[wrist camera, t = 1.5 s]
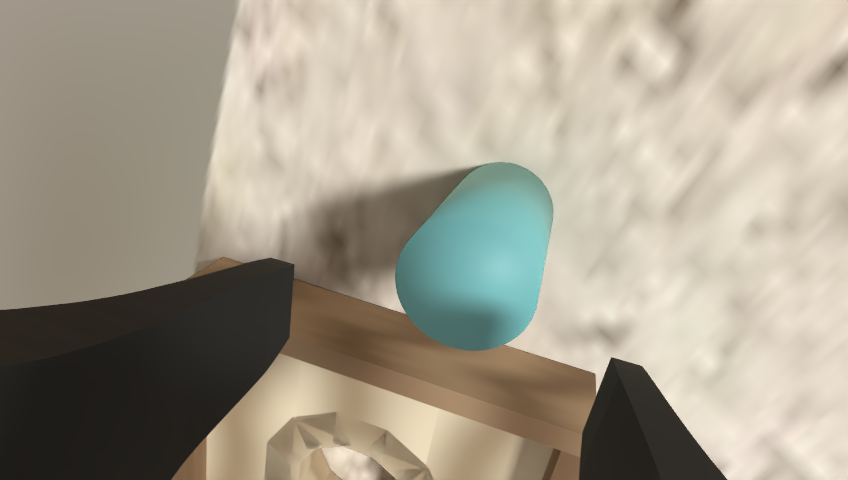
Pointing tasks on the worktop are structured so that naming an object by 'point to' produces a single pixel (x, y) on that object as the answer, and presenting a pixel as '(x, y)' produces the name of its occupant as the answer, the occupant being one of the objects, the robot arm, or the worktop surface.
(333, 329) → the walnut box
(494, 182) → the peg
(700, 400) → the worktop surface
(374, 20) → the worktop surface
